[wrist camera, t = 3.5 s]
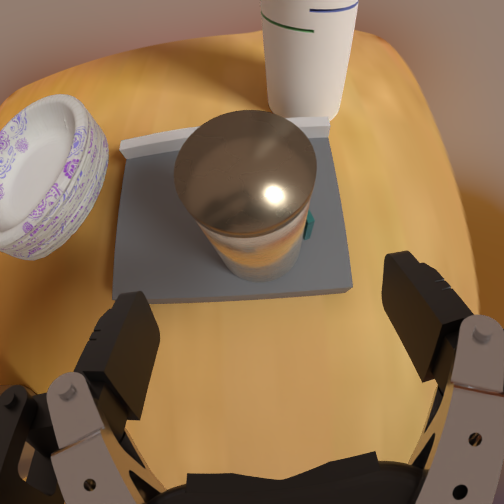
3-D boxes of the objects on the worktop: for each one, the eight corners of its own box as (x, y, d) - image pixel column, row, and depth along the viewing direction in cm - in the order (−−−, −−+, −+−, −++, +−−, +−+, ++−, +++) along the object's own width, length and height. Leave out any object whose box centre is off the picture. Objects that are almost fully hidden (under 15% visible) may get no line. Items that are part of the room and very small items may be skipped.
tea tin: (237, 296, 20) (199, 255, 11) (207, 224, 22) (159, 141, 12) (316, 262, 20) (345, 194, 11) (281, 193, 22) (280, 94, 13)
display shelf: (127, 304, 23) (101, 296, 19) (139, 162, 27) (121, 138, 23) (345, 292, 22) (358, 282, 18) (322, 143, 26) (327, 114, 22)
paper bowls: (112, 268, 24) (55, 238, 17) (5, 269, 26) (-46, 248, 18) (136, 124, 29) (105, 73, 21) (35, 150, 30) (-2, 116, 22)
